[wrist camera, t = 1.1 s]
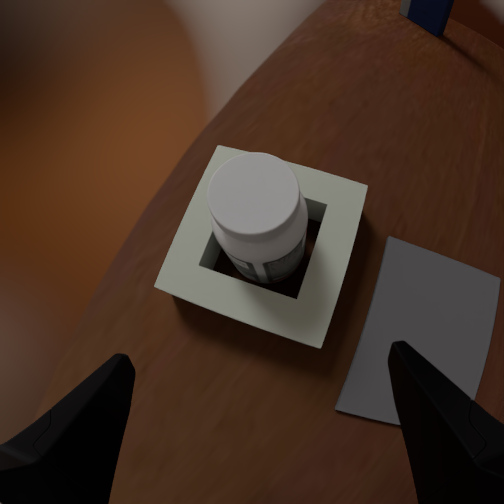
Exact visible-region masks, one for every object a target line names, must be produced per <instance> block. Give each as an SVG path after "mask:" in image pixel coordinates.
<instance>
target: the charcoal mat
mask: <svg viewBox="0 0 504 504" xmlns="http://www.w3.org/2000/svg"><path fill="white" fill-rule="evenodd" d="M500 280H501V279H500V278H498V277H495V276H493V275H491V274H488V273H486V272H483V271H481V270H478V269H476V268H473V267H471V266H468V265H466V264H463V263H461V262H458V261H456V260H453V259H450V258H448V257H445V256H442V255H440V254H437V253H435V252H432V251H429V250H426V249H424V248H421V247H418V246H416V245H413V244H410V243H407V242H404V241H402V240H399V239H396V238H393V237H390V236H388V238H387V241H386V245H385V250H384V254H383V258H382V262H381V266H380V270H379V274H378V278H377V282H376V286H375V290H374V293H373V297H372V300H371V304H370V307H369V311H368V314H367V318H366V321H365V324H364V327H363V330H362V334H361V337H360V340H359V343H358V346H357V349H356V352H355V355H354V358H353V361H352V363H351V366H350V369H349V372H348V375H347V377H346V380H345V383H344V385H343V388H342V391H341V393H340V396H339V398H338V401H337V403H336V406H335V410H339V411H343V412H346V413H350V414H354V415H358V416H362V417H366V418H370V419H375V420H379V421H383V422H388V423H393V424H397V425H400V422H399V418H398V414H397V411H396V407H395V403H394V398H393V392H392V386H391V380H390V374H389V369H388V356H389V352H390V348H391V344H392V343H393V342H394V341H401V340H404V341H406V342H407V343H408V344H409V345H410V346H412V347H413V348H414V349H415V350H416V351H418V352H419V353H420V354H421V355H422V356H423V357H425V358H426V359H427V360H428V361H429V362H430V363H432V364H433V365H434V366H435V367H436V368H437V369H438V370H440V371H441V372H442V373H443V374H444V375H445V376H446V377H448V378H449V379H450V380H451V381H452V382H453V383H454V384H456V385H457V386H458V387H459V388H460V389H461V390H462V391H464V392H465V393H466V394H467V395H468V396H469V397H470V398H471V400H472V399H473V400H474V399H475V396H476V393H477V390H478V386H479V383H480V380H481V376H482V373H483V369H484V365H485V362H486V358H487V354H488V349H489V345H490V341H491V336H492V331H493V326H494V321H495V315H496V309H497V303H498V296H499V288H500Z"/></svg>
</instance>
